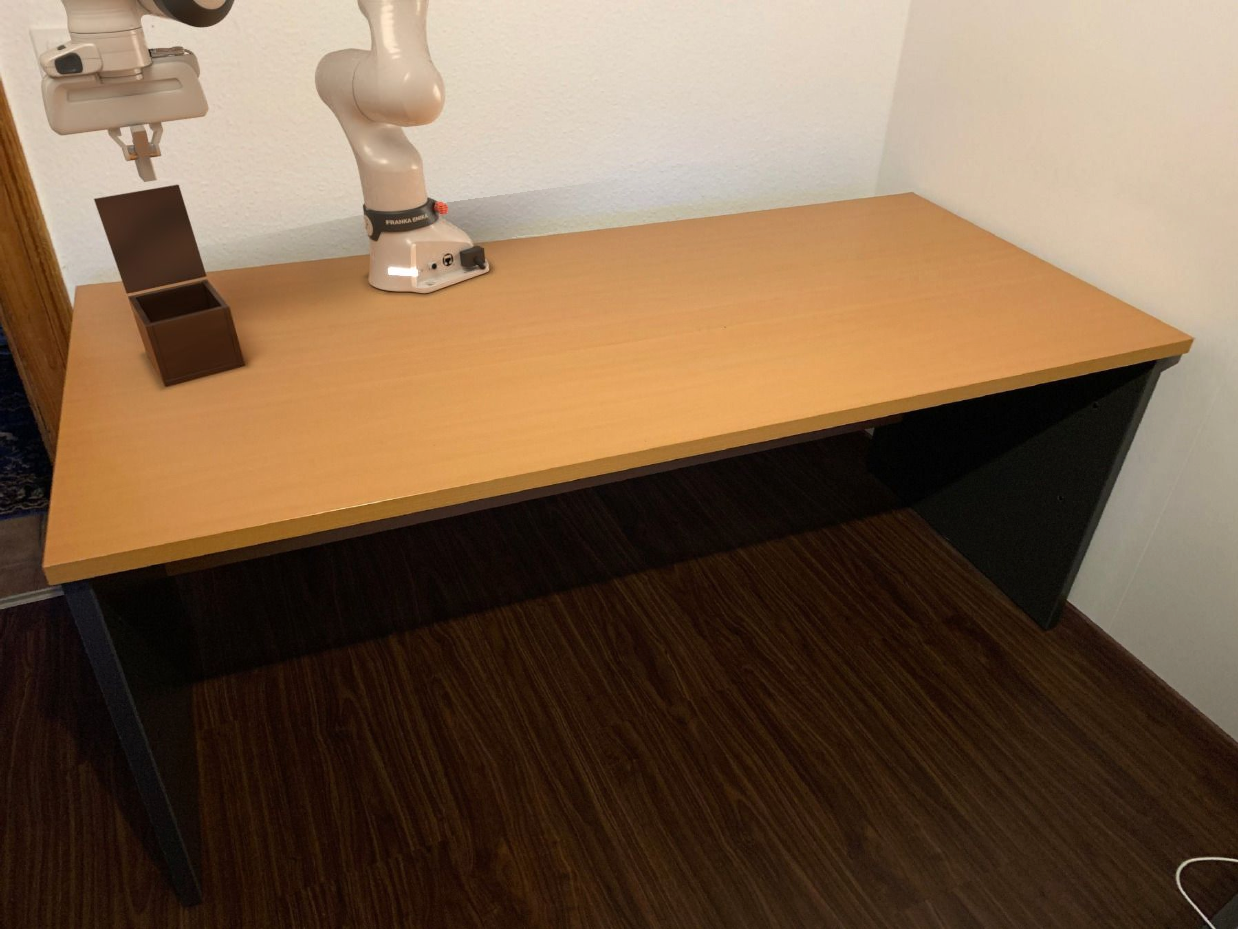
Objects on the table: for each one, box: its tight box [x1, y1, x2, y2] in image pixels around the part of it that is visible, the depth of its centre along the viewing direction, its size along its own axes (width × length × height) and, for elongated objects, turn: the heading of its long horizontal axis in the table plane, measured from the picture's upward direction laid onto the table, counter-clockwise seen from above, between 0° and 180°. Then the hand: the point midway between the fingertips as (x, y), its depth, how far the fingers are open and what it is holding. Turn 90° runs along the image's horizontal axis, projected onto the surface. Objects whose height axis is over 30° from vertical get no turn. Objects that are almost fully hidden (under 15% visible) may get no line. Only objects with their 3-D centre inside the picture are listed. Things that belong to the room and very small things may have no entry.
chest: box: [127, 278, 246, 388], centre depth 141 cm, size 13×12×10 cm
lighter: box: [129, 125, 158, 183], centre depth 130 cm, size 7×2×8 cm, turn 34°
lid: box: [93, 184, 207, 294], centre depth 142 cm, size 14×12×5 cm
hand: (143, 157), depth 130 cm, fingers closed on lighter, 2 cm apart
